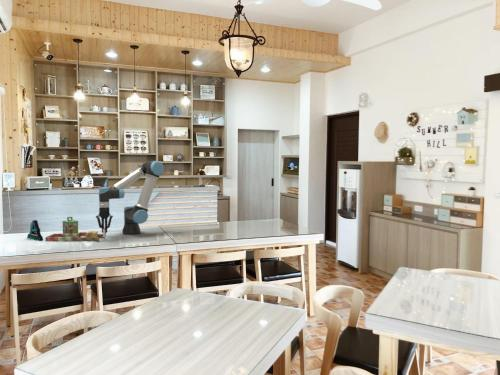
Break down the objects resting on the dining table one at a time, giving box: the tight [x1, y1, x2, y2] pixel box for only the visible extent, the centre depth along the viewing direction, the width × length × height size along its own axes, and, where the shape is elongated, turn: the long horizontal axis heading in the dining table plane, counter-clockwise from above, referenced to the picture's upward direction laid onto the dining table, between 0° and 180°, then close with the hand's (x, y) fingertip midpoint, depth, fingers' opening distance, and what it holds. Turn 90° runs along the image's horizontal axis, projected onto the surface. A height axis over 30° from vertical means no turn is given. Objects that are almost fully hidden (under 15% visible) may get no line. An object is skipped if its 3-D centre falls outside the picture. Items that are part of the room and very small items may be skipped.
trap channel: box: [45, 231, 106, 243], centre depth 332 cm, size 40×22×3 cm, turn 92°
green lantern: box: [62, 216, 79, 234], centre depth 347 cm, size 9×9×15 cm
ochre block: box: [85, 230, 99, 237], centre depth 329 cm, size 7×7×6 cm
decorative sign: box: [26, 219, 44, 242], centre depth 328 cm, size 19×2×15 cm, turn 56°
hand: (104, 236), depth 329 cm, fingers closed
